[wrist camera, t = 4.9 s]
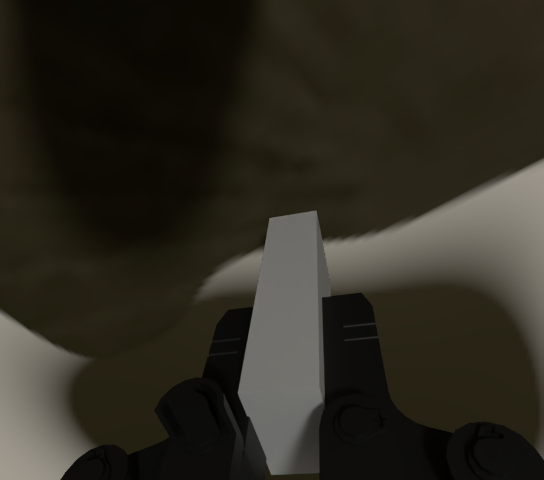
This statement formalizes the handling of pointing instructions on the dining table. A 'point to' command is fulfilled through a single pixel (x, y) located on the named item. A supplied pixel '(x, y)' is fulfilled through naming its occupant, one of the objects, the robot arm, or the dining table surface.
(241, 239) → the dining table surface
